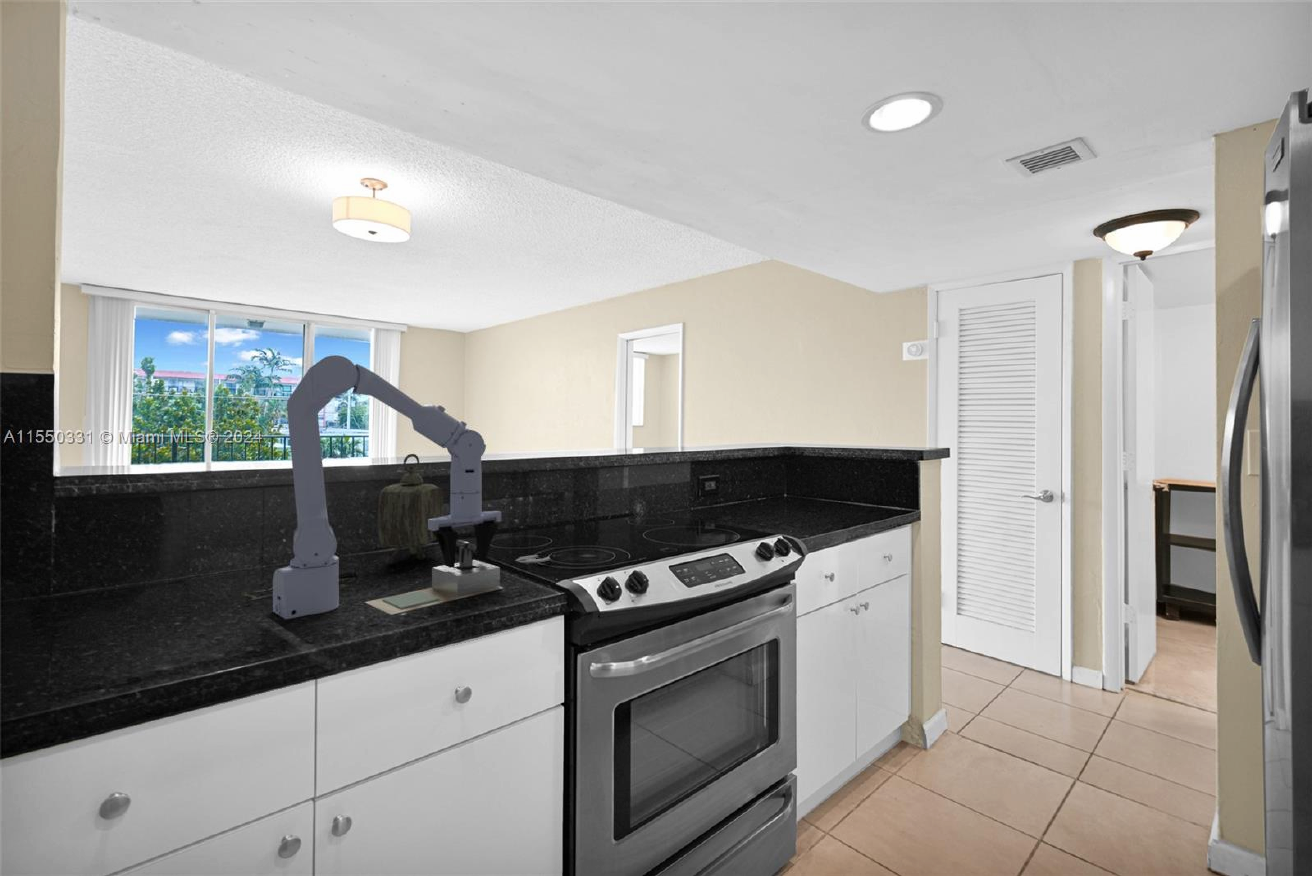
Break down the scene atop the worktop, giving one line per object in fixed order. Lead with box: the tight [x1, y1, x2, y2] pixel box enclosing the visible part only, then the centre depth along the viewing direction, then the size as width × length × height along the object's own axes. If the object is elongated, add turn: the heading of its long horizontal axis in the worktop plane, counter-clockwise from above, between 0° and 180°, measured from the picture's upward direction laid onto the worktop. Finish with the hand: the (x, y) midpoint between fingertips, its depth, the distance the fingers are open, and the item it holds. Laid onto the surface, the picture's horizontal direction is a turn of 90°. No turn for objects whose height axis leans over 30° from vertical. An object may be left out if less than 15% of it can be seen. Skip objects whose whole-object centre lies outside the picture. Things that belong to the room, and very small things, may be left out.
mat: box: [382, 590, 439, 609], centre depth 110 cm, size 7×7×1 cm
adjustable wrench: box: [514, 554, 551, 565], centre depth 138 cm, size 25×6×2 cm, turn 128°
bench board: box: [364, 586, 503, 616], centre depth 114 cm, size 22×10×1 cm, turn 139°
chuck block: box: [431, 559, 501, 598], centre depth 118 cm, size 9×9×4 cm
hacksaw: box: [231, 569, 359, 608], centre depth 121 cm, size 24×10×2 cm, turn 136°
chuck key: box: [456, 539, 477, 571], centre depth 118 cm, size 2×6×7 cm, turn 49°
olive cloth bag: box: [377, 453, 444, 565], centre depth 146 cm, size 14×9×25 cm, turn 174°
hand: (466, 563), depth 118 cm, fingers open, 6 cm apart
